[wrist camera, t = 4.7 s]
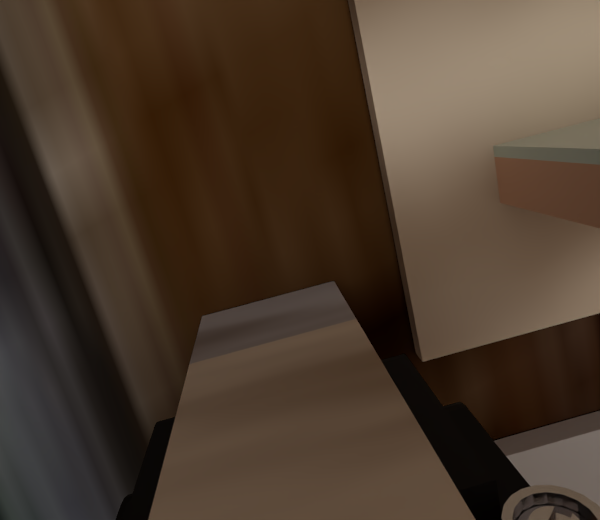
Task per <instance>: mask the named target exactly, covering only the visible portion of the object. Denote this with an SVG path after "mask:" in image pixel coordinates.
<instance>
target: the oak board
mask: <svg viewBox="0 0 600 520" xmlns="http://www.w3.org/2000/svg"><path fill="white" fill-rule="evenodd" d="M348 3H349V8H350V14H351V19H352V24H353V29H354V34H355V40H356V45H357V50H358V55H359V60H360V66H361V71H362V76H363V81H364V86H365V91H366V97H367V102H368V107H369V112H370V117H371V123H372V128H373V133H374V138H375V143H376V149H377V154H378V159H379V164H380V169H381V175H382V180H383V185H384V190H385V195H386V201H387V206H388V211H389V216H390V221H391V227H392V232H393V237H394V242H395V247H396V253H397V258H398V263H399V268H400V273H401V279H402V284H403V289H404V294H405V299H406V305H407V310H408V315H409V320H410V325H411V331H412V336H413V341H414V346H415V351H416V354H417V355H418V357H419V358H420V359H421V360H422V362H424V361H428V360H431V359H435V358H439V357H442V356H446V355H450V354H453V353H457V352H460V351H464V350H468V349H471V348H475V347H478V346H482V345H486V344H489V343H493V342H497V341H500V340H504V339H507V338H511V337H515V336H518V335H522V334H526V333H529V332H533V331H536V330H540V329H544V328H547V327H551V326H554V325H558V324H562V323H565V322H569V321H573V320H576V319H580V318H583V317H587V316H591V315H594V314H598V313H600V228H596V227H592V226H588V225H584V224H581V223H577V222H573V221H569V220H565V219H561V218H557V217H553V216H549V215H545V214H542V213H538V212H534V211H530V210H526V209H522V208H518V207H514V206H510V205H507V204H503V203H500V197H499V189H498V181H497V173H496V165H495V157H494V149H493V146H494V145H498V144H502V143H506V142H510V141H514V140H518V139H521V138H525V137H529V136H533V135H537V134H541V133H545V132H548V131H552V130H556V129H560V128H564V127H568V126H572V125H575V124H579V123H583V122H587V121H591V120H595V119H599V118H600V0H348Z"/></svg>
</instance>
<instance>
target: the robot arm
mask: <svg viewBox="0 0 600 520" xmlns="http://www.w3.org/2000/svg"><path fill="white" fill-rule="evenodd" d="M381 361H382V363H383V365H384V366H385V368H386V370H387V371H388V373H389V375H390V376H391V378H392V380H393V382H394V383H395V385H396V387H397V388H398V390H399V392H400V393H401V395H402V397H403V398H404V400H405V402H406V403H407V405H408V407H409V408H410V410H411V412H412V414H413V415H414V417H415V419H416V420H417V422H418V424H419V425H420V427H421V429H422V430H423V432H424V434H425V435H426V437H427V439H428V440H429V442H430V444H431V446H432V447H433V449H434V451H435V452H436V454H437V456H438V457H439V459H440V461H441V462H442V464H443V466H444V467H445V469H446V471H447V472H448V474H449V476H450V478H451V479H452V481H453V483H454V484H455V486H456V488H457V489H458V491H459V493H460V494H461V496H462V498H463V499H464V501H465V503H466V505H467V506H468V508H469V510H470V511H471V513H472V515H473V516H474V518H475V520H600V507H599V506H598V504H596V503H595V502H593V501H592V500H590V499H589V498H587V497H586V496H584V495H583V494H580V493H578V492H575V491H573V490H570V489H568V488H564V487H559V486H554V485H534V486H530V485H529V484H528V483H527V481H526V480H525V479H524V478H523V476H522V475H521V474H520V473H519V472H518V470H517V469H516V468H515V467H514V465H513V464H512V463H511V462H510V460H509V459H508V458H507V457H506V455H505V454H504V453H503V452H502V450H501V449H500V448H499V447H498V445H497V444H496V443H495V442H494V441H493V439H492V438H491V437H490V436H489V434H488V433H487V432H486V431H485V429H484V428H483V427H482V426H481V424H480V423H479V422H478V421H477V419H476V418H475V417H474V416H473V415H472V413H471V412H470V411H469V410H468V408H467V407H466V406H465V405H464V404H463V403H461V402H457V403H454V404H450V405H447V406H442V404H441V403H440V402H439V400H438V399H437V397H436V396H435V395H434V393H433V392H432V390H431V389H430V388H429V386H428V385H427V384H426V382H425V381H424V379H423V378H422V377H421V375H420V374H419V372H418V371H417V370H416V368H415V367H414V366H413V364H412V363H411V361H410V360H409V359H408V357H407V356H406V355H405V354H402V355H398V356H395V357H391V358H388V359H384V360H381ZM174 420H175V417H173V418H170V419H166V420H162V421H159V422H157V423H156V424H155V427H154V430H153V433H152V436H151V439H150V442H149V445H148V448H147V451H146V455H145V458H144V461H143V464H142V467H141V470H140V473H139V476H138V479H137V482H136V485H135V488H134V491H133V494H130V495H127V496H126V497H125V498H124V500H123V502H122V504H121V506H120V509H119V512H118V515H117V518H116V520H148V519H149V515H150V511H151V507H152V504H153V500H154V496H155V492H156V489H157V485H158V481H159V477H160V473H161V470H162V466H163V462H164V458H165V454H166V451H167V447H168V443H169V439H170V436H171V432H172V428H173V424H174Z"/></svg>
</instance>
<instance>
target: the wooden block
mask: <svg viewBox="0 0 600 520" xmlns="http://www.w3.org/2000/svg"><path fill="white" fill-rule="evenodd" d="M148 520H475V518H474V516H473V515H472V513H471V511H470V510H469V508H468V506H467V505H466V503H465V501H464V499H463V498H462V496H461V494H460V493H459V491H458V489H457V488H456V486H455V484H454V483H453V481H452V479H451V478H450V476H449V474H448V472H447V471H446V469H445V467H444V466H443V464H442V462H441V461H440V459H439V457H438V456H437V454H436V452H435V451H434V449H433V447H432V446H431V444H430V442H429V440H428V439H427V437H426V435H425V434H424V432H423V430H422V429H421V427H420V425H419V424H418V422H417V420H416V419H415V417H414V415H413V414H412V412H411V410H410V408H409V407H408V405H407V403H406V402H405V400H404V398H403V397H402V395H401V393H400V392H399V390H398V388H397V387H396V385H395V383H394V382H393V380H392V378H391V376H390V375H389V373H388V371H387V370H386V368H385V366H384V365H383V363H382V361H381V360H380V358H379V356H378V355H377V353H376V351H375V349H374V348H373V346H372V344H371V343H370V341H369V339H368V338H367V336H366V334H365V333H364V331H363V329H362V328H361V326H360V324H359V323H358V321H357V319H356V317H355V316H354V314H353V312H352V311H351V309H350V307H349V306H348V304H347V302H346V301H345V299H344V297H343V296H342V294H341V292H340V291H339V289H338V287H337V285H336V284H335V282H334V281H332V282H328V283H324V284H321V285H317V286H313V287H309V288H306V289H302V290H298V291H294V292H291V293H287V294H283V295H279V296H276V297H272V298H268V299H264V300H261V301H257V302H253V303H250V304H246V305H242V306H238V307H235V308H231V309H227V310H223V311H220V312H216V313H212V314H208V315H205V316H202V318H201V322H200V326H199V330H198V333H197V337H196V341H195V345H194V349H193V352H192V356H191V360H190V364H189V368H188V371H187V375H186V379H185V383H184V386H183V390H182V394H181V398H180V402H179V405H178V409H177V413H176V417H175V420H174V424H173V428H172V432H171V436H170V439H169V443H168V447H167V451H166V454H165V458H164V462H163V466H162V470H161V473H160V477H159V481H158V485H157V489H156V492H155V496H154V500H153V504H152V507H151V511H150V515H149V519H148Z"/></svg>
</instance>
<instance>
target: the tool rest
mask: <svg viewBox="0 0 600 520" xmlns="http://www.w3.org/2000/svg"><path fill="white" fill-rule="evenodd" d="M494 442H495V443H496V444H497V445H498V447H499V448H500V449H501V450H502V452H503V453H504V454H505V455H506V457H507V458H508V459H509V460H510V462H511V463H512V464H513V465H514V467H515V468H516V469H517V470H518V472H519V473H520V474H521V475H522V476H523V478H524V479H525V480H526V481H527V483H528V484H529V485H530V486H534V485H554V486H559V487H564V488H568V489H570V490H573V491H575V492H578V493H580V494H583V495H584V496H586V497H587V498H589V499H590V500H592V501H593V502H595V503H596V504H598V506H599V507H600V411H597V412H593V413H590V414H586V415H583V416H579V417H576V418H572V419H569V420H565V421H562V422H558V423H554V424H551V425H547V426H544V427H540V428H537V429H533V430H530V431H526V432H523V433H519V434H516V435H512V436H509V437H505V438H502V439H498V440H495V441H494Z"/></svg>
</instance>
